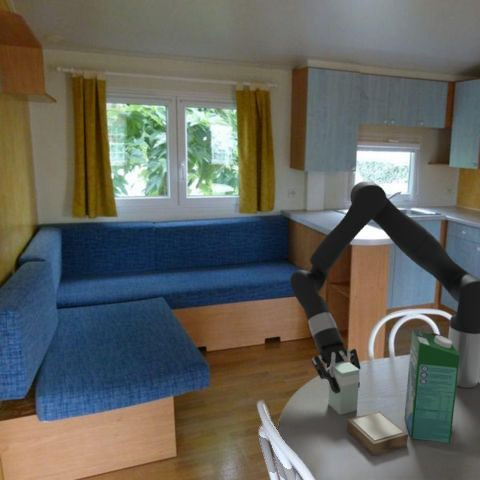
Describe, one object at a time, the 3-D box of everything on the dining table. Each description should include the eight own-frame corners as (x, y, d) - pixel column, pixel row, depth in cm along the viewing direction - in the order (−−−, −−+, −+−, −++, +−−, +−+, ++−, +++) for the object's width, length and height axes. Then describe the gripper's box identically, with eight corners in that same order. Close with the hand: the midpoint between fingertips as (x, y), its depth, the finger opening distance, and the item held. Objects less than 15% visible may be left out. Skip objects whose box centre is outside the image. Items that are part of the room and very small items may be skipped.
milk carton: (450, 443, 102) (461, 346, 97) (410, 438, 104) (419, 342, 99) (440, 421, 111) (450, 331, 106) (404, 417, 112) (412, 328, 108)
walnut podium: (379, 421, 110) (379, 410, 110) (407, 445, 101) (408, 433, 101) (346, 430, 107) (347, 418, 106) (373, 455, 98) (374, 443, 97)
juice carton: (344, 399, 120) (347, 360, 118) (357, 410, 115) (359, 369, 113) (328, 403, 118) (330, 364, 116) (339, 414, 113) (342, 373, 111)
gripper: (308, 330, 117) (331, 391, 108) (351, 323, 122) (376, 381, 114) (298, 340, 123) (318, 399, 114) (340, 333, 128) (362, 389, 119)
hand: (347, 390), depth 114 cm, fingers closed on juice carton, 5 cm apart
